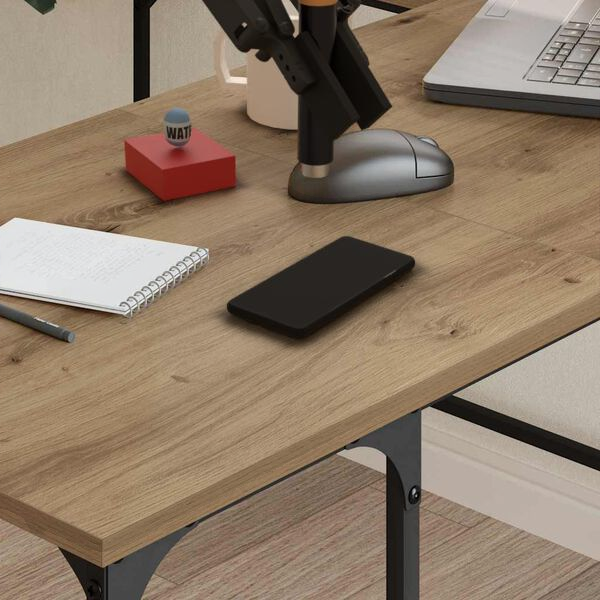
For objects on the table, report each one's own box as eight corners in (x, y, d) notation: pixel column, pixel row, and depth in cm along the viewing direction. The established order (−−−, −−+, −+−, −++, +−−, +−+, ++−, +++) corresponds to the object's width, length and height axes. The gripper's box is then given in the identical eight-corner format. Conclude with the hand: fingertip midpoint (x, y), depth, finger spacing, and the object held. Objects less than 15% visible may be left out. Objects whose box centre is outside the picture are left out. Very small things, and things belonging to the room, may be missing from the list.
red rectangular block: (235, 186, 122) (234, 116, 119) (163, 200, 119) (160, 129, 116) (195, 156, 128) (193, 89, 125) (125, 169, 125) (122, 101, 122)
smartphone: (419, 257, 107) (300, 331, 96) (418, 267, 107) (300, 342, 96) (344, 233, 110) (222, 302, 100) (344, 243, 111) (222, 313, 100)
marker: (311, 183, 93) (314, -30, 86) (288, 172, 94) (290, -38, 88) (341, 175, 94) (346, -36, 88) (319, 164, 96) (322, -44, 89)
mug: (202, 123, 136) (199, 14, 131) (227, 89, 145) (225, -14, 140) (341, 133, 134) (343, 22, 129) (358, 98, 142) (361, -6, 138)
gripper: (236, -154, 100) (405, 125, 98) (61, -128, 90) (244, 183, 88) (290, -227, 95) (471, 67, 92) (110, -208, 85) (307, 123, 82)
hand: (360, 123), depth 90 cm, fingers closed on marker, 2 cm apart
